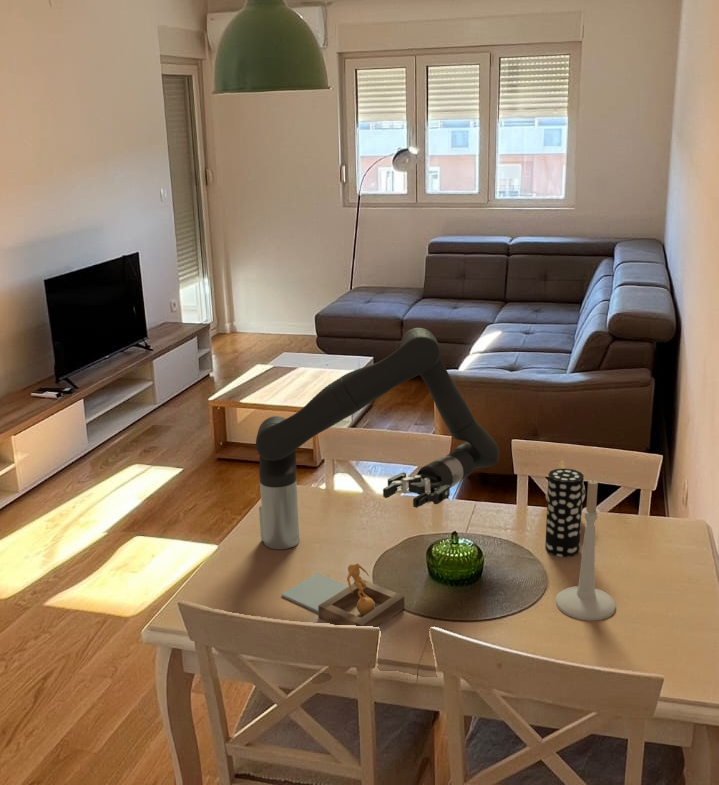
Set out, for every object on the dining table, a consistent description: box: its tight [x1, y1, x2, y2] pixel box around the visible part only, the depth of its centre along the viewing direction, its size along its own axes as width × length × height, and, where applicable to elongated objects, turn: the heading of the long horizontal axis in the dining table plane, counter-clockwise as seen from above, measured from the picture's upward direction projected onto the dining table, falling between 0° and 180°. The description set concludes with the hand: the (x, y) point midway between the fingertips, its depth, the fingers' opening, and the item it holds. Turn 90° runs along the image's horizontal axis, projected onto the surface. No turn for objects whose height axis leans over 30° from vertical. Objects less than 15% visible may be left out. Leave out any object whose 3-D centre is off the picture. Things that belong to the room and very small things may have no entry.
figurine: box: [346, 563, 376, 616], centre depth 188 cm, size 8×6×12 cm
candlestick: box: [555, 479, 617, 621], centre depth 186 cm, size 13×13×30 cm
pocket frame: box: [318, 578, 405, 628], centre depth 189 cm, size 12×14×3 cm
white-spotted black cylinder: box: [544, 468, 585, 558], centre depth 212 cm, size 8×8×20 cm
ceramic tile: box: [281, 572, 349, 614], centre depth 197 cm, size 12×12×1 cm
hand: (399, 498), depth 193 cm, fingers open, 8 cm apart
